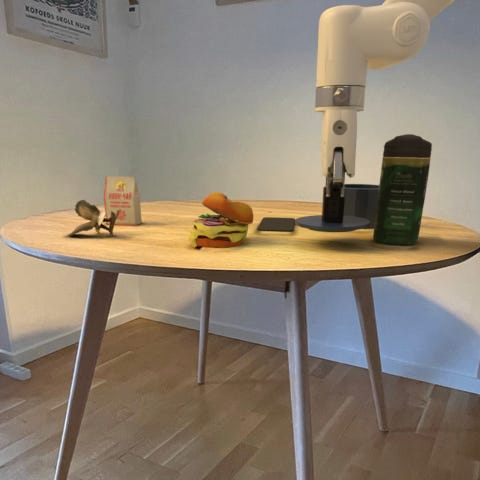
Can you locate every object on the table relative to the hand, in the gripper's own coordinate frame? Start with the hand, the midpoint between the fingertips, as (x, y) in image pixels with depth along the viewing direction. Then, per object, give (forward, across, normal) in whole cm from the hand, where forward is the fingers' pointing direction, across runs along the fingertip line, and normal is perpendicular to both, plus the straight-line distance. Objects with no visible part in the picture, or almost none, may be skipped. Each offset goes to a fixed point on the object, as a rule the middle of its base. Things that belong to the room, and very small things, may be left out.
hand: (332, 218), depth 79 cm
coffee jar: (+5, +6, -12) cm, 15 cm away
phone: (+5, +19, +10) cm, 22 cm away
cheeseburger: (+5, 0, +19) cm, 20 cm away
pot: (+5, +23, -7) cm, 24 cm away
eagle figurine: (+5, +5, +45) cm, 46 cm away
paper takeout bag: (+5, +19, +44) cm, 48 cm away
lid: (+1, 0, 0) cm, 1 cm away
